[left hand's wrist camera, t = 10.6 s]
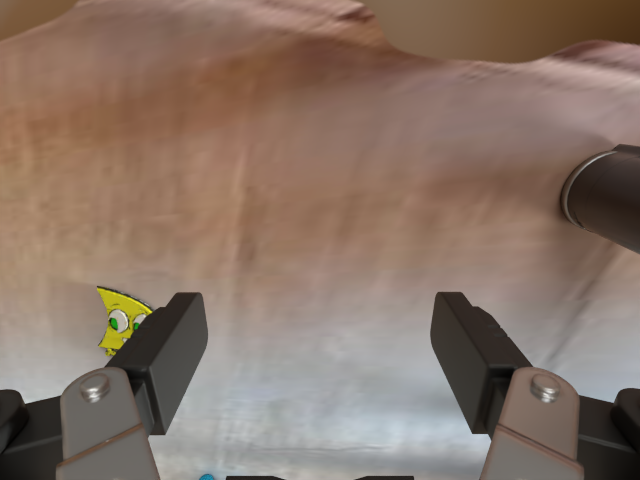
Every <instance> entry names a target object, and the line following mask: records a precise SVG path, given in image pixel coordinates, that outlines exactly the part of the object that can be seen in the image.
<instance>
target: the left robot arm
mask: <svg viewBox="0 0 640 480" xmlns="http://www.w3.org/2000/svg"><path fill="white" fill-rule="evenodd" d="M561 206H562V210H563V213H564V215H565V216H566V218H567V219H568V220H569V221H570V222H571V223H573V224H574V225H576V226H578V227H580V228H583V229H585V230H588V231H590V232H593V233H595V234H597V235H599V236H601V237H604V238H606V239H608V240H610V241H612V242H614V243H616V244H619V245H621V246H623V247H625V248H627V249H629V250H631V251H634V252H636V253H638V254H640V146H633V145H625V144H619V145H618V146H617V147H615V148H614V149H613V150H612V151H606V152H602V153H599V154H596V155H594V156H592V157H590V158H588V159H587V160H585V161H584V162H583V163H581V164H580V165H579V166H578V167H577V168H576V169H575V170H574V171H573V172H572V174H571V175H570V176H569V178H568V179H567V181H566V183H565V185H564V188H563V191H562V196H561ZM430 337H431V344H432V347H433V350H434V352H435V354H436V356H437V359H438V361H439V363H440V365H441V367H442V369H443V372H444V374H445V376H446V378H447V380H448V382H449V384H450V387H451V389H452V391H453V393H454V395H455V397H456V400H457V402H458V404H459V406H460V408H461V410H462V413H463V415H464V417H465V419H466V421H467V423H468V426H469V428H470V430H471V432H472V434H488V435H489V437H490V439H491V444H490V448H489V451H488V454H487V457H486V461H485V464H484V467H483V470H482V473H481V477H480V480H640V389H635V388H627V389H623V390H621V391H619V392H618V394H617V397H616V399H615V401H614V403H611V402H607V401H602V400H598V399H594V398H589V397H585V396H581V395H578V393H577V392H576V390H575V389H574V388H573V387H572V386H571V385H570V384H569V383H568V382H567V381H565V380H564V379H563V378H561V377H559V376H558V375H556V374H554V373H552V372H549V371H547V370H544V369H540V368H535V367H533V366H532V365H531V363H530V362H529V361H528V360H527V358H526V357H525V356H524V355H523V353H522V352H521V351H520V350H519V349H518V347H517V346H516V345H515V344H514V342H513V341H512V340H511V339H510V338H509V337H507V334H506V333H505V331H504V330H503V329H502V328H500V325H499V324H498V323H497V322H496V320H495V319H494V318H493V317H492V315H490V314H489V313H487V312H486V311H484V310H482V309H481V308H479V307H473V306H472V305H471V304H470V302H469V301H468V300H467V298H466V297H465V296H464V294H463V293H462V292H438V293H437V294H436V297H435V303H434V310H433V316H432V323H431V331H430ZM207 341H208V329H207V322H206V315H205V308H204V302H203V297H202V294H201V293H199V292H178V293H176V294H175V295H174V296H173V298H172V299H171V300H170V302H169V303H168V304H167V306H166V307H159V308H158V309H156V310H155V311H153V312H152V313H150V314H149V315H147V316H146V317H145V318H144V320H143V321H142V322H141V323H140V324H139V326H138V328H137V329H135V331H134V332H133V333H132V334H131V335H130V338H128V339H127V340H126V342H125V343H124V344H123V345H122V346H121V348H120V349H119V350H118V351H117V352H116V354H115V355H114V356H113V357H112V359H111V360H110V361H109V362H108V363H107V365H106V366H105V367H104V368H100V369H96V370H93V371H91V372H88V373H86V374H84V375H82V376H81V377H79V378H77V379H76V380H75V381H73V382H72V383H71V384H70V385H69V386H68V387H67V388H66V389H65V390H64V392H63V393H62V395H61V396H57V397H53V398H49V399H44V400H40V401H36V402H31V403H27V404H25V403H24V401H23V399H22V396H21V394H20V393H19V392H18V391H16V390H9V389H6V390H0V480H160V477H159V473H158V470H157V467H156V464H155V461H154V457H153V454H152V451H151V448H150V444H149V441H148V437H149V435H165V434H166V432H167V430H168V428H169V426H170V424H171V422H172V420H173V417H174V415H175V413H176V411H177V409H178V407H179V405H180V402H181V400H182V398H183V396H184V394H185V392H186V390H187V387H188V385H189V383H190V381H191V379H192V377H193V375H194V373H195V370H196V368H197V366H198V364H199V362H200V360H201V358H202V355H203V353H204V351H205V349H206V346H207ZM226 480H285V479H281V478H278V477H274V476H227V477H226ZM355 480H414V477H413V476H366V477H362V478H359V479H355Z"/></svg>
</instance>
